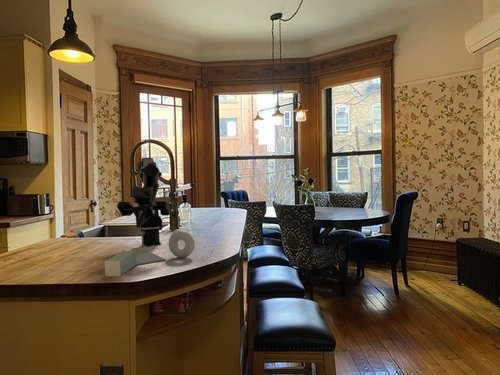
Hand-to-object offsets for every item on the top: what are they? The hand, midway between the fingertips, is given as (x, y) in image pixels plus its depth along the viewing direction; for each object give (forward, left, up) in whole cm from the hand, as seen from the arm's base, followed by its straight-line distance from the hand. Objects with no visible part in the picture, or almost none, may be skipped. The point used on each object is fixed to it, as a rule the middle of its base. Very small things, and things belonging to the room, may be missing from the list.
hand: (137, 227), depth 131 cm
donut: (-13, +7, -12) cm, 19 cm away
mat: (0, -2, -12) cm, 12 cm away
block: (+5, +6, -9) cm, 12 cm away
